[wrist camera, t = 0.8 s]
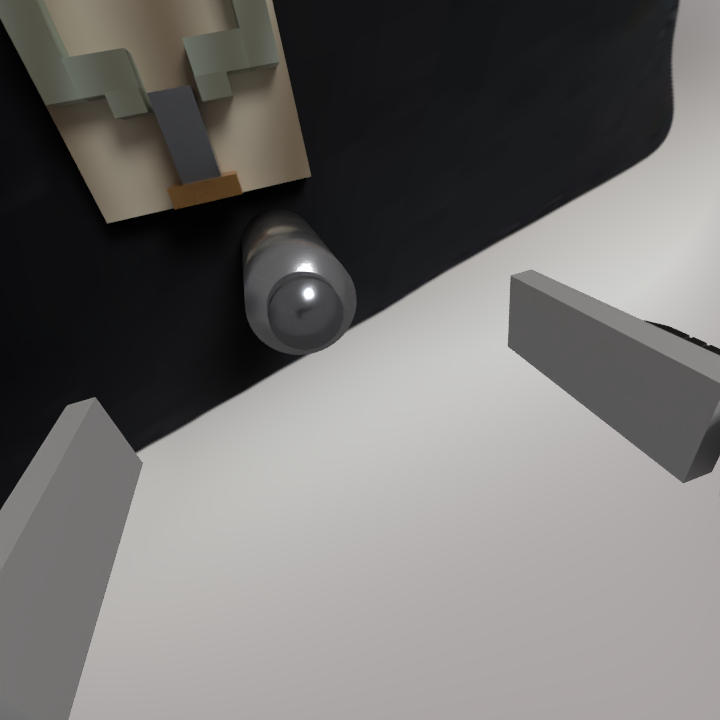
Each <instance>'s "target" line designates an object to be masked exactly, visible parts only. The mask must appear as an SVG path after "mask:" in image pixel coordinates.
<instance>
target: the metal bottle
mask: <svg viewBox="0 0 720 720" xmlns="http://www.w3.org/2000/svg"><path fill="white" fill-rule="evenodd" d="M242 259H243V277H244V295H245V310H246V316H247V319H248V322H249V324H250V326H251V328H252V330H253V331H254V333H255V334H256V335H257V336H258V338H259V339H260V340H261V341H263V342H264V343H265V344H266V345H268V346H269V347H271V348H273V349H275V350H277V351H280V352H283V353H287V354H294V355H304V354H311V353H315V352H318V351H321V350H323V349H325V348H327V347H329V346H331V345H332V344H334V343H335V342H336V341H337V340H339V339H340V338H341V337H342V336H343V335H344V333H345V332H346V331H347V329H348V328H349V326H350V324H351V322H352V320H353V317H354V314H355V310H356V291H355V287H354V284H353V282H352V279H351V277H350V276H349V274H348V273H347V271H346V270H345V269H344V268H343V266H342V265H341V264H340V263H339V261H338V260H337V259H336V258H335V257H334V255H333V254H332V253H331V252H330V250H329V249H328V248H327V247H326V246H325V244H324V243H323V242H322V241H321V239H320V238H319V237H318V236H317V235H316V233H315V232H314V231H313V230H312V228H311V227H310V226H309V225H308V224H307V222H306V221H305V220H304V219H303V218H302V217H300V216H299V215H298V214H296V213H294V212H292V211H289V210H286V209H279V208H276V209H268V210H265V211H263V212H261V213H259V214H257V215H256V216H254V217H253V218H252V219H251V220H250V222H249V223H248V224H247V226H246V228H245V230H244V233H243V236H242Z"/></svg>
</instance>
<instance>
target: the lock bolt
mask: <svg viewBox="0 0 720 720" xmlns="http://www.w3.org/2000/svg"><path fill="white" fill-rule="evenodd" d="M147 95H148V97H149V100H150V102H151V105H152V107H153V110H154V112H155V115H156V118H157V120H158V123H159V125H160V128H161V130H162V133H163V135H164V138H165V140H166V143H167V145H168V148H169V150H170V153H171V155H172V158H173V161H174V163H175V166H176V168H177V171H178V173H179V176H180V178H181V181H182V182H181V183H177V184H173V185H171V186H170V187H169V188H167V189H166V190H167V192H168V194H169V197H170V199H171V201H172V204H173V206H174V209H180V208H184V207H188V206H192V205H197V204H201V203H205V202H210V201H214V200H218V199H223V198H227V197H231V196H236V195H240V194H243V192H242V187H241V184H240V181H239V178H238V174H237V171H236V170H235V171H231V172H226V173H222V171H221V168H220V165H219V162H218V159H217V156H216V153H215V150H214V147H213V144H212V141H211V138H210V135H209V132H208V129H207V126H206V123H205V120H204V118H203V115H202V112H201V109H200V106H199V103H198V100H197V97H196V94H195V91H194V89H193V88H192V86H191V85H187V86H182V87H176V88H171V89H166V90H160V91H155V92H150V93H147Z"/></svg>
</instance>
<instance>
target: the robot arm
mask: <svg viewBox="0 0 720 720" xmlns="http://www.w3.org/2000/svg"><path fill="white" fill-rule="evenodd" d="M508 347H510V348H511V349H512V350H513V351H515V352H516V353H517V354H519V355H520V356H521V357H522V358H524V359H525V360H526V361H528V362H529V363H530V364H531V365H533V366H534V367H535V368H536V369H538V370H539V371H540V372H542V373H543V374H544V375H545V376H547V377H548V378H549V379H551V380H552V381H553V382H554V383H556V384H557V385H558V386H560V387H561V388H562V389H563V390H565V391H566V392H567V393H568V394H570V395H571V396H572V397H574V398H575V399H576V400H577V401H579V402H580V403H581V404H583V405H584V406H585V407H586V408H588V409H589V410H590V411H591V412H593V413H594V414H595V415H597V416H598V417H599V418H600V419H602V420H603V421H604V422H606V423H607V424H608V425H609V426H611V427H612V428H613V429H615V430H616V431H617V432H619V433H620V434H621V435H622V436H623V437H625V438H626V439H627V440H629V441H630V442H631V443H633V444H634V445H635V446H636V447H638V448H639V449H640V450H641V451H643V452H644V453H645V454H647V455H648V456H649V457H650V458H652V459H653V460H654V461H656V462H657V463H658V464H659V465H661V466H662V467H663V468H665V469H666V470H667V471H668V472H670V473H671V474H672V475H673V476H675V477H676V478H677V479H679V480H680V481H681V482H682V483H685V482H688V481H690V480H693V479H695V478H698V477H700V476H703V475H705V474H708V473H710V472H712V470H713V468H714V466H715V464H716V462H717V460H718V458H719V456H720V349H719V348H717V347H714V346H712V345H710V346H708V345H707V343H705V342H703V341H701V340H699V339H696V338H694V337H693V338H690V337H689V335H687V334H685V333H683V332H681V331H678V330H676V329H673V328H672V327H669V326H665V325H661V324H657V323H653V322H649V321H643V320H641V319H639V318H636V317H634V316H632V315H630V314H627V313H625V312H623V311H621V310H619V309H617V308H614V307H612V306H610V305H608V304H606V303H603V302H601V301H599V300H597V299H595V298H593V297H590V296H588V295H586V294H584V293H582V292H579V291H577V290H575V289H573V288H571V287H568V286H566V285H564V284H562V283H560V282H557V281H555V280H553V279H551V278H549V277H547V276H544V275H542V274H540V273H538V272H536V271H533V270H528V271H525V272H522V273H518V274H515V275H511V283H510V309H509V334H508ZM142 464H143V463H142V462H141V460H140V459H139V457H138V456H137V454H136V453H135V452H134V450H133V449H132V448H131V446H130V445H129V443H128V442H127V441H126V439H125V438H124V436H123V435H122V434H121V432H120V431H119V429H118V428H117V427H116V425H115V424H114V423H113V421H112V420H111V418H110V417H109V416H108V414H107V413H106V411H105V410H104V409H103V407H102V406H101V404H100V403H99V402H98V400H97V399H96V397H94V398H91V399H88V400H84V401H81V402H77V403H74V404H71V405H67V406H66V408H65V409H64V411H63V413H62V414H61V416H60V417H59V419H58V420H57V422H56V424H55V425H54V427H53V428H52V430H51V432H50V433H49V435H48V436H47V438H46V439H45V441H44V443H43V444H42V446H41V447H40V449H39V450H38V452H37V454H36V455H35V457H34V458H33V460H32V462H31V463H30V465H29V466H28V468H27V469H26V471H25V473H24V474H23V476H22V477H21V479H20V480H19V482H18V484H17V485H16V487H15V488H14V490H13V492H12V493H11V495H10V496H9V498H8V499H7V501H6V503H5V504H4V506H3V507H2V509H1V510H0V720H68V718H69V715H70V711H71V708H72V704H73V701H74V698H75V694H76V691H77V687H78V684H79V680H80V677H81V673H82V670H83V667H84V663H85V660H86V656H87V653H88V649H89V646H90V643H91V639H92V636H93V632H94V629H95V625H96V621H97V618H98V615H99V612H100V608H101V605H102V601H103V598H104V594H105V591H106V588H107V584H108V580H109V577H110V574H111V570H112V567H113V563H114V560H115V557H116V553H117V549H118V546H119V543H120V539H121V536H122V533H123V529H124V526H125V522H126V519H127V515H128V512H129V508H130V505H131V501H132V498H133V495H134V491H135V487H136V484H137V481H138V477H139V474H140V471H141V467H142Z"/></svg>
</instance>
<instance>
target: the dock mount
mask: <svg viewBox="0 0 720 720" xmlns="http://www.w3.org/2000/svg"><path fill="white" fill-rule="evenodd" d="M0 19H1V21H2V23H3V25H4V27H5V29H6V30H7V32H8V34H9V36H10V38H11V40H12V42H13V44H14V46H15V48H16V50H17V52H18V53H19V55H20V57H21V59H22V61H23V63H24V65H25V67H26V69H27V71H28V73H29V75H30V76H31V78H32V80H33V82H34V84H35V86H36V88H37V90H38V92H39V94H40V96H41V98H42V99H43V101H44V103H45V105H46V107H47V109H48V111H49V113H50V115H51V117H52V119H53V121H54V122H55V124H56V126H57V128H58V130H59V132H60V134H61V136H62V138H63V140H64V142H65V144H66V145H67V147H68V149H69V151H70V153H71V155H72V157H73V159H74V161H75V163H76V165H77V167H78V168H79V170H80V172H81V174H82V176H83V178H84V180H85V182H86V184H87V186H88V188H89V190H90V191H91V193H92V195H93V197H94V199H95V201H96V203H97V205H98V207H99V209H100V211H101V213H102V214H103V216H104V218H105V220H106V222H107V223H111V222H116V221H120V220H124V219H129V218H133V217H137V216H142V215H146V214H150V213H155V212H159V211H163V210H168V209H172V208H174V206H173V204H172V201H171V199H170V197H169V194H168V192H167V190H166V189H167V188H169V187H170V186H171V185H173V184H177V183H181V182H182V181H181V178H180V176H179V173H178V171H177V168H176V166H175V163H174V161H173V158H172V155H171V153H170V150H169V148H168V145H167V143H166V140H165V138H164V135H163V133H162V130H161V128H160V125H159V123H158V120H157V118H156V115H155V112H154V110H153V107H152V105H151V102H150V100H149V97H148V95H147V93H150V92H155V91H160V90H166V89H171V88H176V87H182V86H187V85H191V86H192V88H193V89H194V91H195V94H196V97H197V100H198V103H199V106H200V109H201V112H202V115H203V118H204V120H205V123H206V126H207V129H208V132H209V135H210V138H211V141H212V144H213V147H214V150H215V153H216V156H217V159H218V162H219V165H220V168H221V171H222V173H226V172H231V171H235V170H236V171H237V174H238V178H239V181H240V184H241V187H242V192H246V191H250V190H255V189H259V188H263V187H268V186H272V185H276V184H281V183H285V182H289V181H294V180H298V179H302V178H307V177H311V173H310V169H309V165H308V160H307V156H306V151H305V147H304V142H303V138H302V133H301V129H300V124H299V120H298V115H297V111H296V106H295V102H294V97H293V93H292V88H291V84H290V79H289V75H288V70H287V66H286V61H285V57H284V52H283V48H282V43H281V39H280V34H279V30H278V25H277V21H276V16H275V12H274V7H273V3H272V0H0Z"/></svg>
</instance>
